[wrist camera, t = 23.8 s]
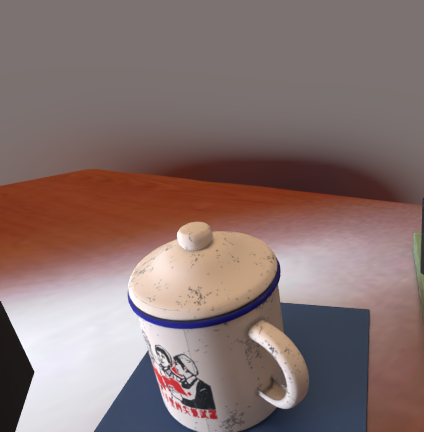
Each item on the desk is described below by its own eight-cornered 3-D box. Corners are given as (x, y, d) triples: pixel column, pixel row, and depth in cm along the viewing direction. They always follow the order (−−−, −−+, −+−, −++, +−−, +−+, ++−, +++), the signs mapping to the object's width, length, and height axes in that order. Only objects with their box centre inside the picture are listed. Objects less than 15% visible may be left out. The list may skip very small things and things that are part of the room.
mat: (360, 657, 15) (359, 653, 15) (32, 529, 21) (30, 526, 21) (369, 312, 32) (369, 309, 31) (185, 297, 38) (184, 294, 38)
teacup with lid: (136, 381, 29) (88, 237, 24) (233, 318, 33) (209, 186, 29) (249, 518, 19) (207, 327, 15) (362, 404, 24) (357, 230, 19)
